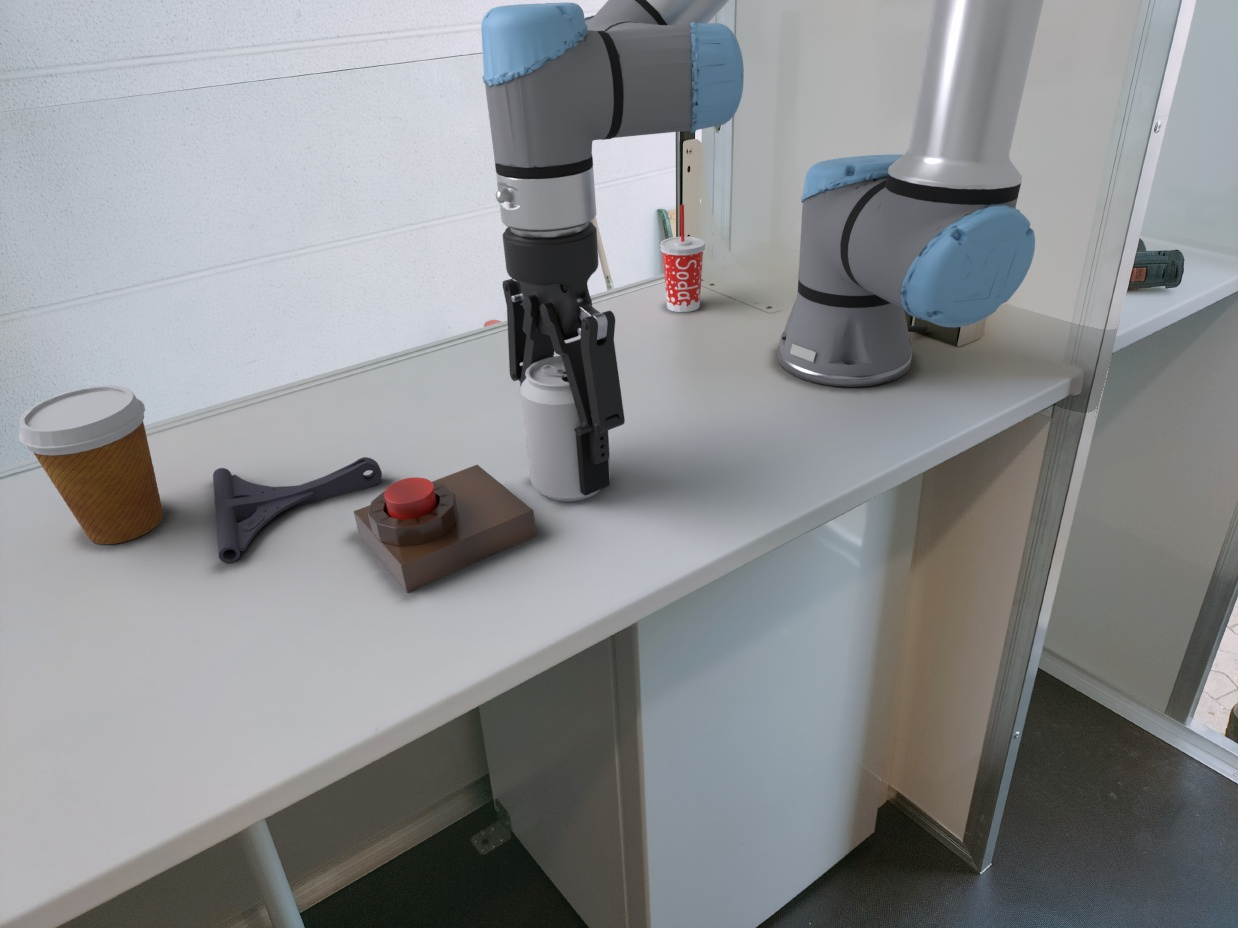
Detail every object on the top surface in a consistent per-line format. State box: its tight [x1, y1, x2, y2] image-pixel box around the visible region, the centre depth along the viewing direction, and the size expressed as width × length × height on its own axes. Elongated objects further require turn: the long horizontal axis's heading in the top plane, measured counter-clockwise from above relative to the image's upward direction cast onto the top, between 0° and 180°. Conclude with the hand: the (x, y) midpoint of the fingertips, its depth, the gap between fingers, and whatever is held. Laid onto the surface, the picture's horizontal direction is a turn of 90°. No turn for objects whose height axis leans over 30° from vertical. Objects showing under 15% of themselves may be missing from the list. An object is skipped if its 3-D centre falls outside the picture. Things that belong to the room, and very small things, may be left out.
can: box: [519, 355, 612, 503], centre depth 77 cm, size 8×8×12 cm
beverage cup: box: [659, 204, 706, 313], centre depth 116 cm, size 6×6×14 cm
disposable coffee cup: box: [18, 384, 164, 545], centre depth 75 cm, size 10×10×12 cm
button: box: [384, 476, 437, 520], centre depth 70 cm, size 4×4×2 cm
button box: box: [353, 464, 537, 594], centre depth 72 cm, size 12×10×4 cm
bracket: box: [212, 456, 383, 564], centre depth 79 cm, size 14×15×3 cm
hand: (570, 470), depth 79 cm, fingers closed on can, 7 cm apart
